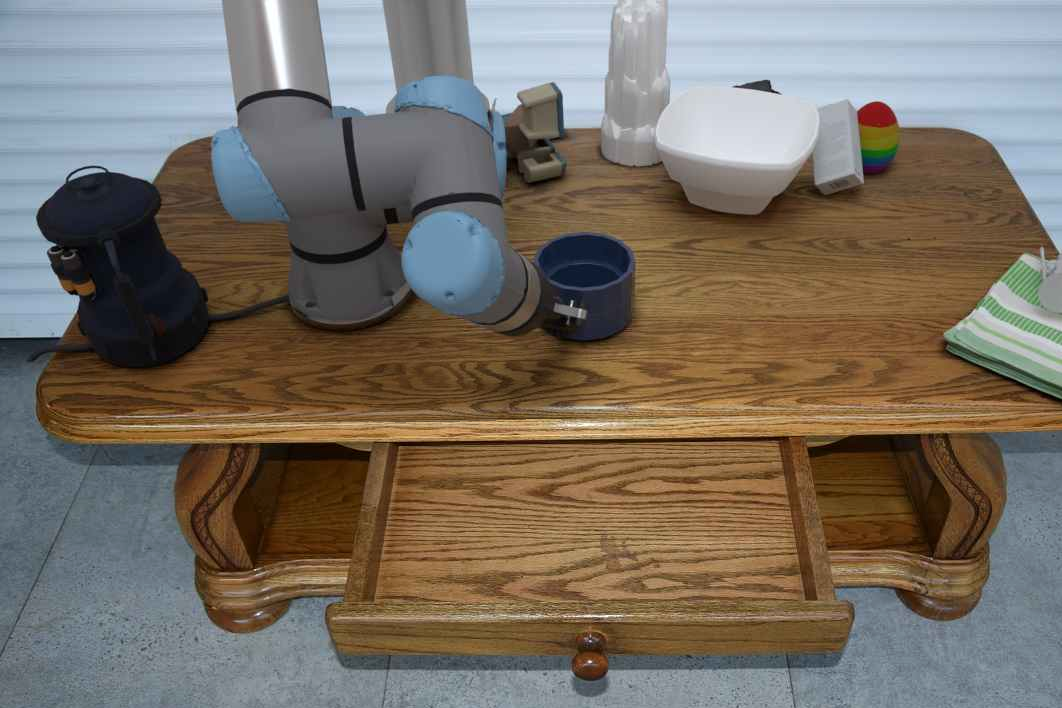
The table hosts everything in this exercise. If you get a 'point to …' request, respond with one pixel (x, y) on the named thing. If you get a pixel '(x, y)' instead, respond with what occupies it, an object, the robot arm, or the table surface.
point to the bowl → (735, 145)
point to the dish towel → (1014, 330)
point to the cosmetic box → (838, 149)
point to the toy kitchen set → (540, 132)
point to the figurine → (1051, 284)
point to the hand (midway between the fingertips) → (565, 326)
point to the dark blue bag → (122, 269)
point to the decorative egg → (877, 136)
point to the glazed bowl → (592, 279)
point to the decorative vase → (635, 82)
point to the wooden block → (516, 132)
